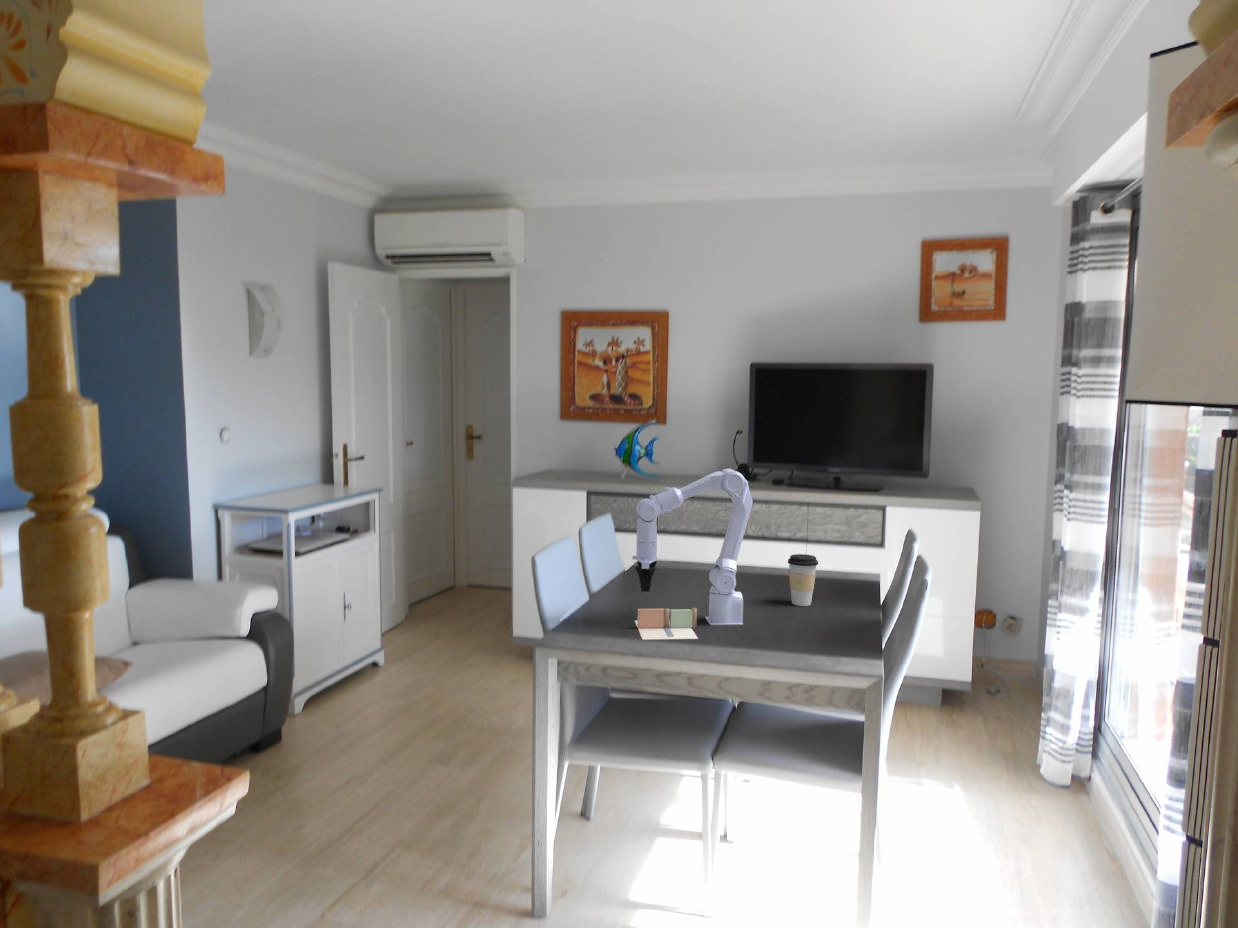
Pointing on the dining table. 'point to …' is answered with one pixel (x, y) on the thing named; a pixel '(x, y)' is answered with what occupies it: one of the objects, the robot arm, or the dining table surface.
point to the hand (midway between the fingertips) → (645, 588)
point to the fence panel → (653, 617)
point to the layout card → (666, 632)
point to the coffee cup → (802, 578)
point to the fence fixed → (683, 618)
